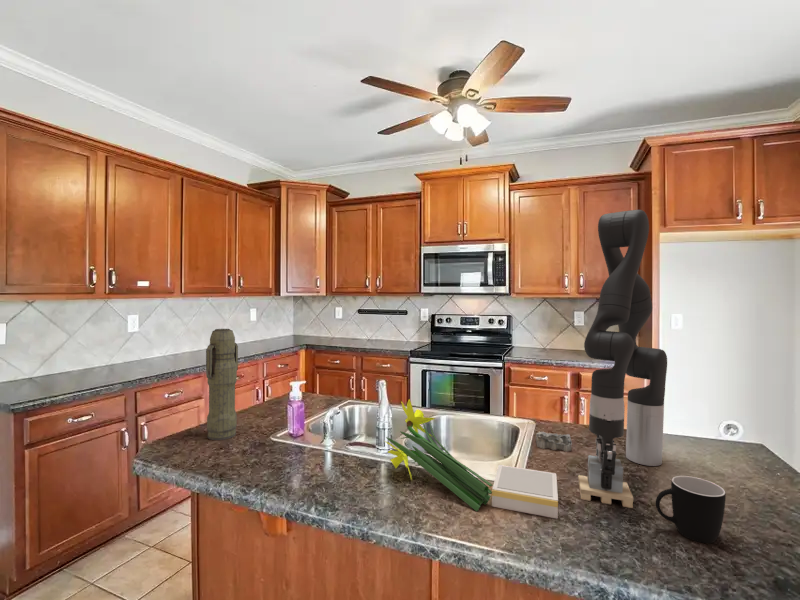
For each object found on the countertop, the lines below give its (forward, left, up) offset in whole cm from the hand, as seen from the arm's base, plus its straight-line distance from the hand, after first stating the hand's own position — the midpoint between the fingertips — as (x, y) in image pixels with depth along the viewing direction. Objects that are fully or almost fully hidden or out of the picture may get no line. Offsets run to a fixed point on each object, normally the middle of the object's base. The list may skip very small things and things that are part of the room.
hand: (604, 483), depth 99 cm
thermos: (+2, -114, -3) cm, 114 cm away
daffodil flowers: (+8, -39, -3) cm, 40 cm away
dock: (+8, -18, -3) cm, 20 cm away
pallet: (0, 0, -3) cm, 3 cm away
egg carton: (-30, -11, -4) cm, 32 cm away
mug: (+11, +14, -3) cm, 18 cm away
